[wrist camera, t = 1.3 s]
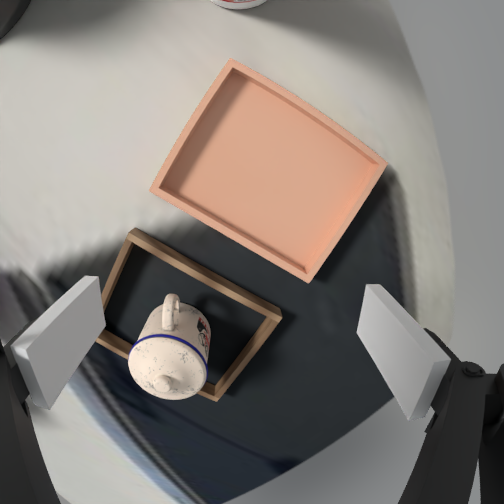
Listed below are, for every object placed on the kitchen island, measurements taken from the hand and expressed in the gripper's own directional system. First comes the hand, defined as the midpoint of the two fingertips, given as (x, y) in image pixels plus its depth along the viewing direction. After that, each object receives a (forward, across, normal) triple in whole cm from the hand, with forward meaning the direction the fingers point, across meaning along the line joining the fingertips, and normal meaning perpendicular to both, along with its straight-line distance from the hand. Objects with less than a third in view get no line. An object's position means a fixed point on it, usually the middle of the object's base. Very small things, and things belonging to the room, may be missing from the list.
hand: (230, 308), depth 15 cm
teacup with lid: (+23, -7, -14) cm, 28 cm away
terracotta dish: (+22, +4, +6) cm, 23 cm away
